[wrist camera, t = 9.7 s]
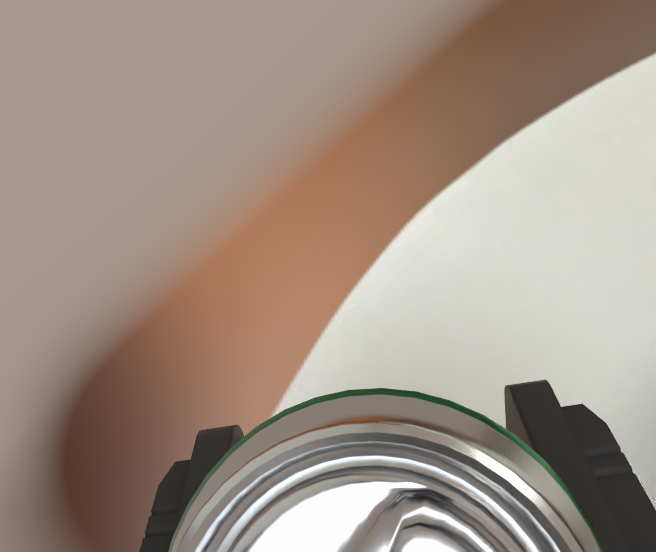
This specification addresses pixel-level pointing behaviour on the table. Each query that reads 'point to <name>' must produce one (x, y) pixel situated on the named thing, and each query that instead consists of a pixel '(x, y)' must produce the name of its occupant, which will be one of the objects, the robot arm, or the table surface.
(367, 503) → the soda can
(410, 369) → the table surface
